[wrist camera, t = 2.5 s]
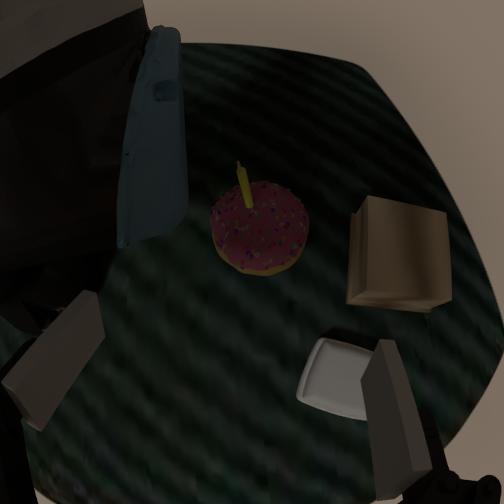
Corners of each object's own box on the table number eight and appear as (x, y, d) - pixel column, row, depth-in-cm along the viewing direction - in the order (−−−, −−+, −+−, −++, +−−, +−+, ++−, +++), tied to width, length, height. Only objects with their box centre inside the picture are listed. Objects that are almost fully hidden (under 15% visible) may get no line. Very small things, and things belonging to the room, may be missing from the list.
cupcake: (199, 251, 31) (169, 188, 19) (251, 192, 33) (250, 113, 22) (268, 303, 29) (277, 266, 18) (318, 237, 31) (349, 171, 20)
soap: (396, 360, 27) (409, 359, 24) (374, 423, 25) (385, 428, 22) (316, 333, 28) (322, 330, 26) (290, 399, 26) (294, 404, 23)
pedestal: (345, 303, 29) (362, 292, 24) (350, 215, 32) (364, 192, 27) (428, 312, 28) (454, 303, 24) (426, 230, 31) (447, 210, 27)
